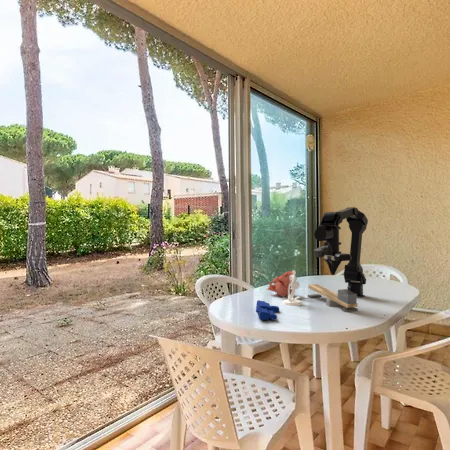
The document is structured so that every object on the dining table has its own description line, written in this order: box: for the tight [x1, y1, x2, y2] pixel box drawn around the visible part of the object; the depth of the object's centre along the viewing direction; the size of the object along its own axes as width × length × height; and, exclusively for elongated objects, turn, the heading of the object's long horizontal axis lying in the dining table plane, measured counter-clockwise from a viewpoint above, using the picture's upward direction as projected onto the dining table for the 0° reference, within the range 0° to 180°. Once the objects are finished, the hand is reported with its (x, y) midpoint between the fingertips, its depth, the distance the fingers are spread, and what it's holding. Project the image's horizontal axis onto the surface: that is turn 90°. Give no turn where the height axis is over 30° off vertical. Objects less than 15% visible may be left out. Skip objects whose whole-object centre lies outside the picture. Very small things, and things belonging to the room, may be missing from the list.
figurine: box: [282, 269, 303, 307], centre depth 154 cm, size 9×9×15 cm
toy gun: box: [255, 299, 280, 321], centre depth 137 cm, size 4×22×10 cm
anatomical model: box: [266, 270, 297, 297], centre depth 170 cm, size 10×12×15 cm
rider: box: [337, 288, 358, 304], centre depth 141 cm, size 4×7×4 cm, turn 16°
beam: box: [307, 283, 358, 308], centre depth 152 cm, size 5×30×2 cm, turn 17°
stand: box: [307, 293, 359, 313], centre depth 152 cm, size 7×29×2 cm, turn 17°
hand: (332, 274), depth 152 cm, fingers closed
